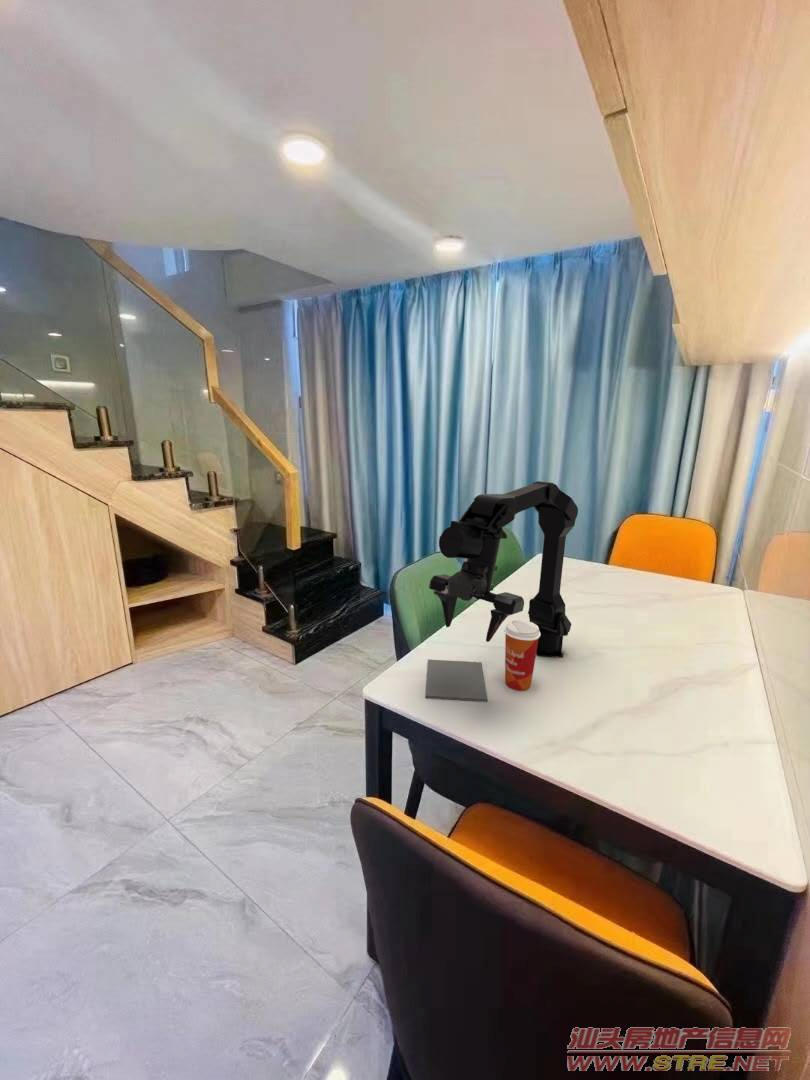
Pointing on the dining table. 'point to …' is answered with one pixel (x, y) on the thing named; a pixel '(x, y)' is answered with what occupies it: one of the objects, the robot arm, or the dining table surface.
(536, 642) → the paper cup
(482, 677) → the mat
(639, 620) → the dining table surface
